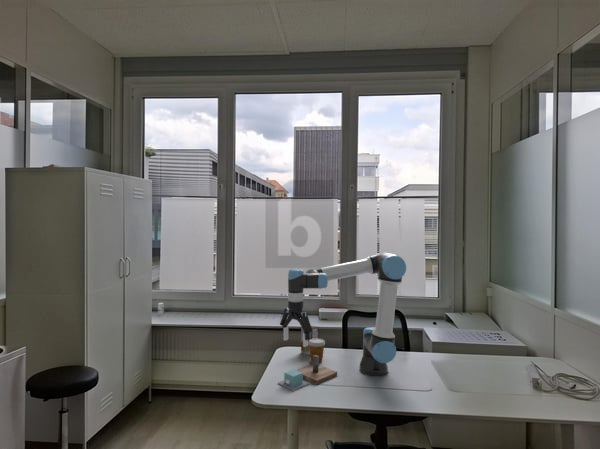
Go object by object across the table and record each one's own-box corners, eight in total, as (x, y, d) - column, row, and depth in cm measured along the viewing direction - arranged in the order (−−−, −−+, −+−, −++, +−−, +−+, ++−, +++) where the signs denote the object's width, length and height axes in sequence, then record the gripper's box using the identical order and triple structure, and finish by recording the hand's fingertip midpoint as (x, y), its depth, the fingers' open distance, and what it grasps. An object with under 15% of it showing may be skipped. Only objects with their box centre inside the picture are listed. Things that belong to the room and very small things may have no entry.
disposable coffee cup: (325, 358, 229) (325, 338, 229) (324, 364, 220) (324, 343, 220) (308, 358, 230) (309, 337, 230) (307, 364, 221) (307, 342, 221)
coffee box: (318, 353, 238) (319, 327, 238) (312, 356, 233) (312, 329, 233) (307, 350, 244) (307, 324, 244) (300, 352, 239) (300, 326, 239)
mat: (309, 384, 194) (309, 383, 194) (293, 391, 186) (293, 389, 186) (293, 377, 202) (293, 376, 202) (277, 383, 194) (277, 382, 194)
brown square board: (337, 375, 205) (337, 356, 205) (316, 384, 194) (316, 364, 194) (314, 366, 217) (314, 348, 216) (293, 374, 205) (294, 355, 205)
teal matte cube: (302, 382, 194) (302, 372, 194) (291, 387, 189) (292, 377, 189) (293, 379, 199) (293, 369, 198) (282, 383, 193) (282, 373, 193)
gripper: (319, 303, 189) (319, 346, 190) (283, 295, 207) (283, 336, 207) (309, 305, 184) (309, 350, 184) (273, 298, 201) (273, 339, 202)
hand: (295, 343), depth 196 cm, fingers open, 13 cm apart
